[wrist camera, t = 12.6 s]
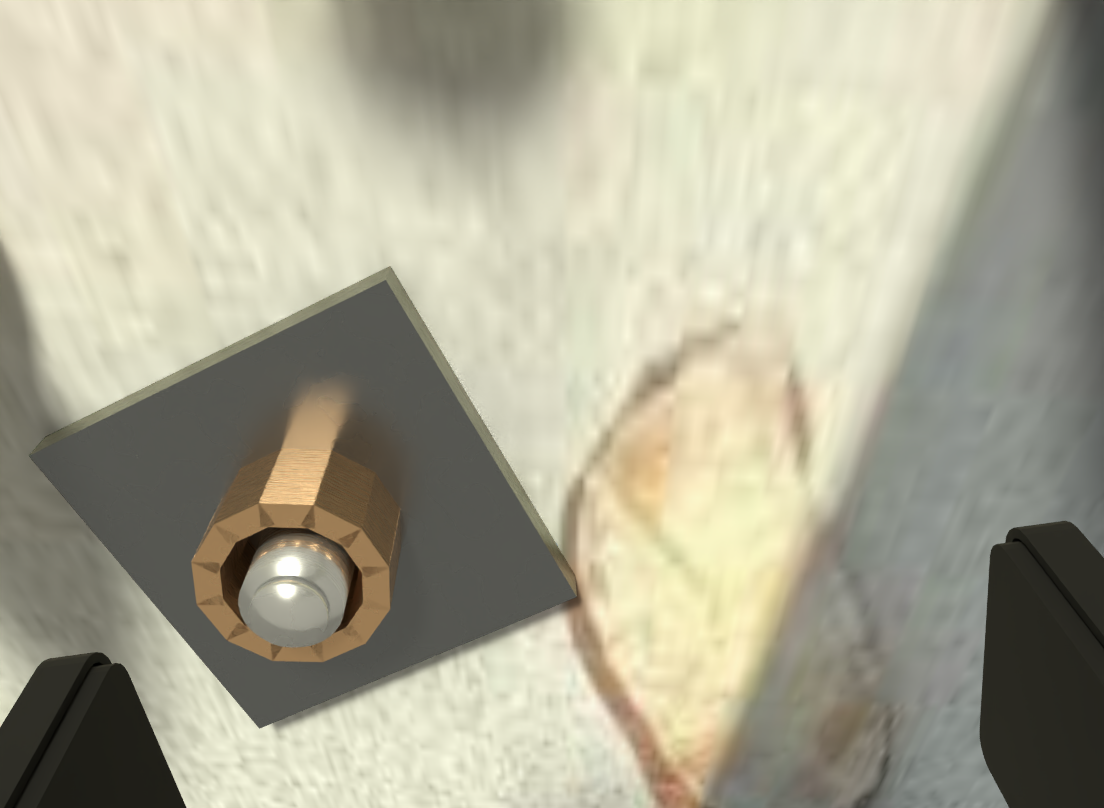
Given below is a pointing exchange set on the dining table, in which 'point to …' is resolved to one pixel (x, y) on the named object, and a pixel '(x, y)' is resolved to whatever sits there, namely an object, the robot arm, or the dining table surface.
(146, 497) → the block
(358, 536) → the copper ring
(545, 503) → the dining table surface
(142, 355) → the dining table surface
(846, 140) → the dining table surface
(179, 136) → the dining table surface
